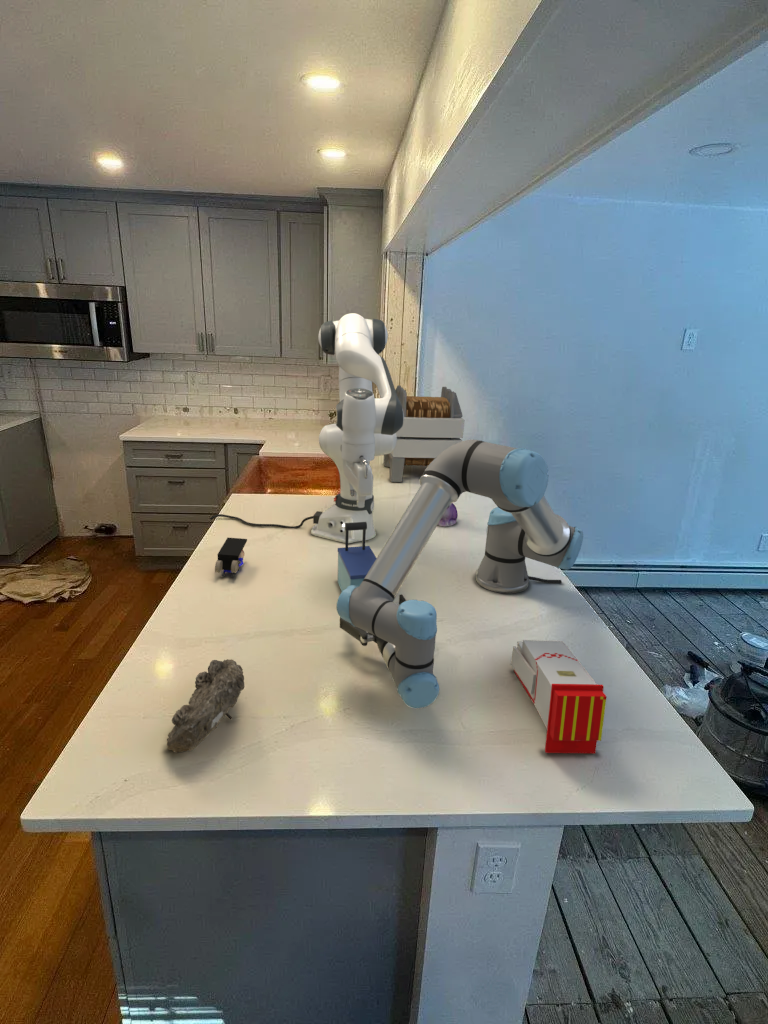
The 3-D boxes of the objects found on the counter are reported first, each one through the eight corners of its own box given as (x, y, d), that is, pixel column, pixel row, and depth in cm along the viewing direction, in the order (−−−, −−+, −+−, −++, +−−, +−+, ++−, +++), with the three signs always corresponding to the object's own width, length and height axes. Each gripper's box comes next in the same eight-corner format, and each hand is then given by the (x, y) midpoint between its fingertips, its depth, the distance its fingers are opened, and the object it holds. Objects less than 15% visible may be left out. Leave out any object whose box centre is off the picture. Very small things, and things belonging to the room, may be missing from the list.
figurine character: (238, 584, 162) (249, 557, 175) (236, 562, 158) (247, 536, 172) (215, 584, 161) (227, 556, 175) (212, 561, 158) (225, 535, 171)
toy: (559, 623, 127) (616, 692, 98) (553, 678, 130) (607, 761, 101) (505, 622, 127) (547, 691, 98) (501, 677, 130) (540, 760, 100)
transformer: (382, 463, 289) (386, 382, 275) (445, 464, 293) (451, 384, 279) (390, 482, 257) (394, 392, 243) (460, 483, 261) (468, 394, 247)
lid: (337, 551, 161) (337, 520, 158) (369, 549, 163) (370, 518, 160) (350, 579, 145) (351, 546, 142) (385, 576, 147) (387, 543, 144)
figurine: (442, 528, 206) (446, 489, 201) (428, 519, 214) (431, 481, 209) (464, 525, 210) (468, 486, 205) (449, 516, 218) (452, 479, 213)
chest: (337, 581, 163) (338, 552, 160) (368, 579, 166) (369, 550, 163) (349, 611, 148) (350, 579, 145) (384, 607, 150) (385, 576, 147)
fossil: (192, 660, 117) (244, 628, 112) (224, 691, 120) (276, 661, 115) (142, 746, 98) (202, 712, 93) (182, 779, 101) (242, 748, 96)
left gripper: (379, 461, 142) (377, 513, 146) (361, 442, 160) (359, 489, 165) (354, 462, 140) (353, 514, 145) (339, 443, 158) (338, 490, 163)
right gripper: (340, 672, 118) (323, 620, 137) (452, 658, 125) (421, 610, 144) (341, 641, 116) (323, 592, 135) (455, 628, 122) (423, 583, 141)
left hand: (356, 501), depth 155 cm, fingers open, 8 cm apart
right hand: (374, 601), depth 139 cm, fingers open, 13 cm apart
